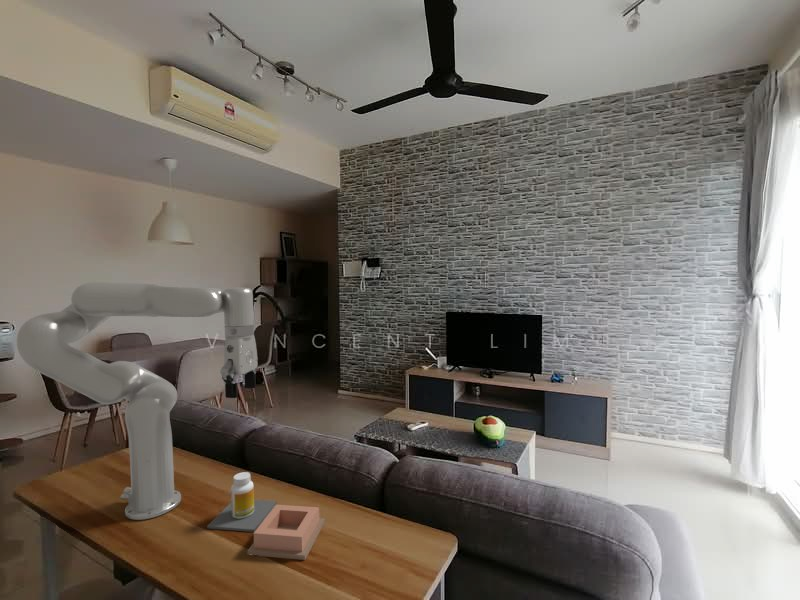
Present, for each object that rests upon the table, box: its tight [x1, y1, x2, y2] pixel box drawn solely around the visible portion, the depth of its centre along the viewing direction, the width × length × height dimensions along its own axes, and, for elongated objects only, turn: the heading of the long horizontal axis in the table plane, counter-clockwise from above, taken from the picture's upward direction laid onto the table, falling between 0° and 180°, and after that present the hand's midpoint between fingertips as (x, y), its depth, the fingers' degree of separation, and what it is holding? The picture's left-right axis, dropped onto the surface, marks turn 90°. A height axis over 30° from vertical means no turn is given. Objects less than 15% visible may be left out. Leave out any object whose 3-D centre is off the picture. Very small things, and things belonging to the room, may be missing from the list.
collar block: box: [247, 504, 326, 561], centre depth 90 cm, size 13×13×4 cm
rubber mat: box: [206, 499, 278, 533], centre depth 99 cm, size 12×12×1 cm
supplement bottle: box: [230, 471, 255, 519], centre depth 99 cm, size 5×5×10 cm
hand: (241, 392), depth 109 cm, fingers open, 9 cm apart
